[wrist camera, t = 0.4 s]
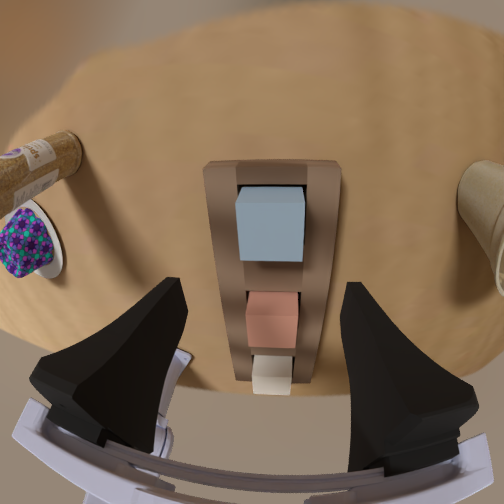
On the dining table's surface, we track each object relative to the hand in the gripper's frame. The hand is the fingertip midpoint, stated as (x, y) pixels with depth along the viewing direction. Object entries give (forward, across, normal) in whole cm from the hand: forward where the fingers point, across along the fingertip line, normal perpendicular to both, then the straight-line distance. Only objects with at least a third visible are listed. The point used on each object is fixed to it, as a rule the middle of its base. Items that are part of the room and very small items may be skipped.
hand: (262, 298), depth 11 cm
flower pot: (+11, -19, -2) cm, 22 cm away
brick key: (+9, 0, +9) cm, 13 cm away
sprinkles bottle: (+11, +18, -6) cm, 22 cm away
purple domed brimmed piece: (+11, +29, +3) cm, 31 cm away
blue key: (+9, 0, 0) cm, 9 cm away
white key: (+9, 0, +18) cm, 20 cm away
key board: (+10, 0, +9) cm, 14 cm away
